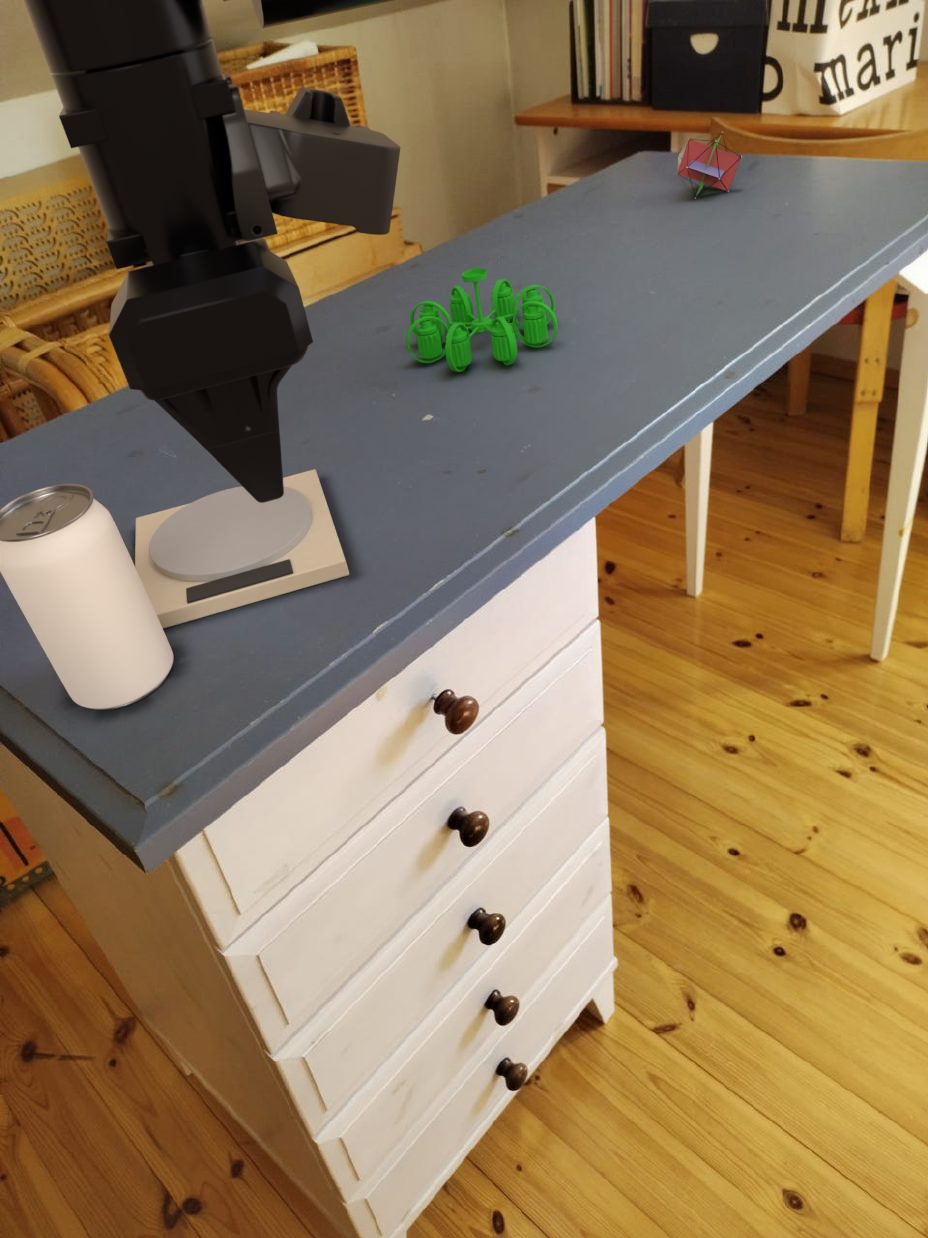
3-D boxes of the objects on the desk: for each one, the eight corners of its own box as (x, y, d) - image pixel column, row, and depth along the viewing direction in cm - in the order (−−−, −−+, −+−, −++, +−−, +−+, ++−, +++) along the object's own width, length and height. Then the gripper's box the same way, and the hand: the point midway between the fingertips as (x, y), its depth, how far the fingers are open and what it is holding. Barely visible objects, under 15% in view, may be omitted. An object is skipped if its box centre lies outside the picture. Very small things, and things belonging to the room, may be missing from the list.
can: (190, 640, 60) (119, 474, 53) (154, 711, 55) (70, 538, 48) (96, 646, 61) (14, 484, 54) (53, 716, 56) (-45, 548, 49)
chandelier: (380, 377, 88) (364, 303, 84) (447, 314, 99) (435, 246, 94) (530, 382, 82) (520, 303, 78) (584, 315, 93) (578, 242, 88)
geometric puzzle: (757, 163, 117) (718, 109, 115) (748, 179, 112) (707, 123, 110) (710, 202, 122) (671, 151, 120) (699, 219, 117) (659, 166, 115)
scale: (140, 635, 61) (130, 613, 60) (141, 531, 72) (132, 510, 71) (349, 575, 63) (343, 552, 62) (319, 482, 74) (313, 461, 73)
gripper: (412, 25, 27) (490, 498, 36) (317, -1, 42) (390, 340, 51) (16, 111, 26) (203, 580, 35) (63, 52, 40) (185, 393, 50)
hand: (260, 452), depth 43 cm, fingers open, 9 cm apart
